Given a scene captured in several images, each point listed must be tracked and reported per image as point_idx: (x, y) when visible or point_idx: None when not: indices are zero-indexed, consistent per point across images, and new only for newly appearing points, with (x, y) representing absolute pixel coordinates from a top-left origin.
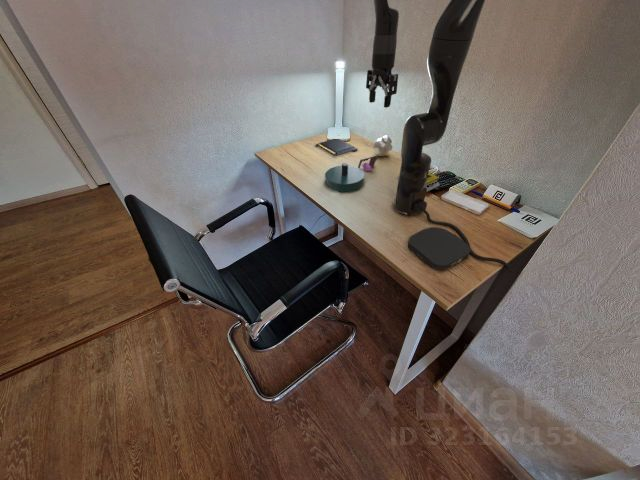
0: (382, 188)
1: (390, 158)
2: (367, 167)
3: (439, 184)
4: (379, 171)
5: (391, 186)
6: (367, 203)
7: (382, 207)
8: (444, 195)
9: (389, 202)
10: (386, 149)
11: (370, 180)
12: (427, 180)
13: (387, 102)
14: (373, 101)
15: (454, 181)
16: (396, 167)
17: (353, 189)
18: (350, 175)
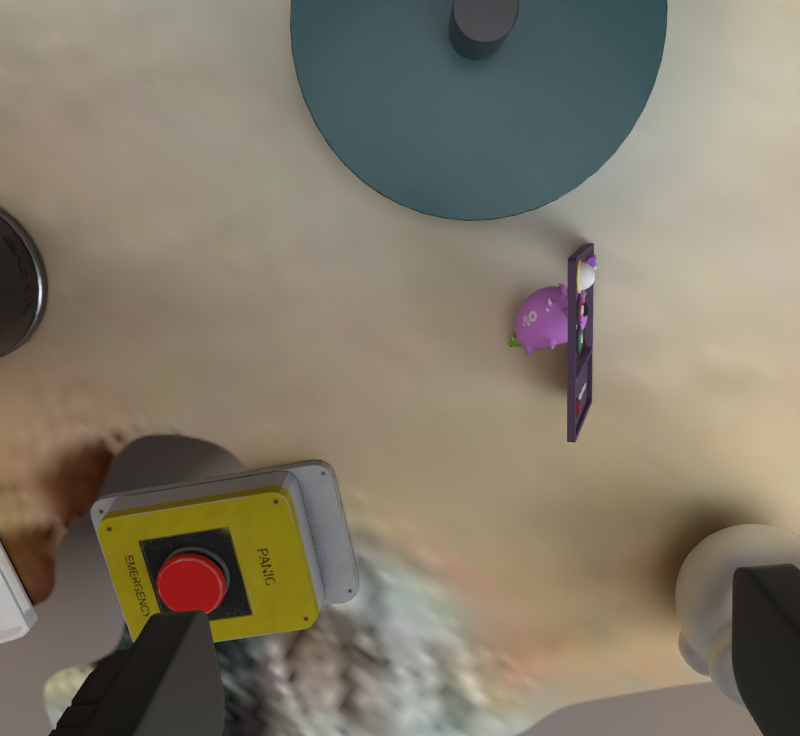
0: (254, 278)
1: (638, 593)
2: (525, 309)
3: (126, 623)
4: (494, 402)
5: (252, 352)
6: (109, 59)
7: (25, 133)
8: (10, 566)
9: (66, 215)
10: (683, 603)
11: (402, 262)
12: (126, 566)
13: (73, 712)
14: (740, 652)
15: None
16: (484, 545)
17: None
18: (429, 68)
